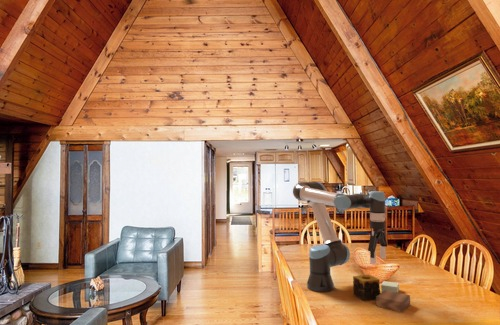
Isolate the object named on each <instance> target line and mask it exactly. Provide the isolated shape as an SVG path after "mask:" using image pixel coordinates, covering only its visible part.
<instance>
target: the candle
mask: <svg viewBox="0 0 500 325" xmlns="http://www.w3.org/2000/svg"><path fill="white" fill-rule="evenodd" d="M380 282H381V280H380V279H379V278H377V277H375V276H372V275H370V274H361V275H353V276H352V283H353V285H352V286H353V287H352V291H353V293H352V294H353V296H354V297H356V298H359V299H360V300H362V301H364V302H365V301H366V302H367V301H372V300H373V301H375V300H376V296H378V295H379V294H380V293H381V285H380V284H381V283H380Z"/></svg>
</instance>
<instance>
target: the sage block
mask: <svg viewBox="0 0 500 325" xmlns="http://www.w3.org/2000/svg"><path fill="white" fill-rule="evenodd" d="M385 290H387V291H392V292H397V293H399V292H400V291H399V290H400V283H399V282H395V281H394V282H393V281H386V280H383V281H382V283H381V285H380V293H382V292H383V291H385Z"/></svg>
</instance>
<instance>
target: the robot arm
mask: <svg viewBox="0 0 500 325" xmlns="http://www.w3.org/2000/svg"><path fill="white" fill-rule="evenodd" d="M292 195H293V196H294V198H295V199H297V201H302V202H306V203H307V205H308V206H310V207H311V210H312V212H313V216H314V219H315V221H316V224H317V227H318V229H319V232H320V235H321V238H322V240H323V244H315V245H313V246H311V247H310V248H309V254H308V257H309V275H308V279H307V282H306V288H307V289H308V290H310V291H313V292H317V293H318V292H319V293H322V292H323V293H325V292H331V291H333V290H334V289H335V283H334V280H333V278H332V275H331V268H333V267H337V266H342V265H345V264H347V263H348V262H349V260H350V257H351V251H350V249H349V247H348V246H347V245H346V244H344V243H343V242H342V240H341V238H338V236H337V233H336V230H335V228H334V224H333V222H332V219H331V217H330V214H329V211H328V209H327V207H326V205H327V206H330V207H331V206H332V207H335V208H336V209H338V210H343V211H344V210H352V209H369V220H370V222H369V228H371V229H372V231H370V233H369V234H370V236H369V243H368V247H367V250H368V252H369V255H370V256H369V257H370V259H369V263H370V264H371V265H377V251H376V249H377V245H378V242H379V259H382V260H386V258H387V256H386V253H387V252H386V247H388V241H387V237H386V236H387V235H386V217H387V214H386V194H385V192H384V191H379V190H373V191H372V190H371V191H370V192H369V194H365V193H352V194H344V193H337V192H333V191H327V189H326V186H325V185H324V183H322V182H319V181H301V182H297V183H296V184H295V185H294V186H293V189H292Z"/></svg>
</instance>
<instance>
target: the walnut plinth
mask: <svg viewBox="0 0 500 325" xmlns="http://www.w3.org/2000/svg"><path fill="white" fill-rule="evenodd" d="M375 300H376V304H375V305H376V307H378V308H382V309H386V310H391V311H393V312H394V311H395V312H397V313H404V312H405V311H406V310H407V308H409V307H410V306H411V295H409V294H406V293H401V292H398V293H397V292H392V291H387V290H385V291H383V292H380V294H379V295H378V296H376V299H375Z"/></svg>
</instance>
